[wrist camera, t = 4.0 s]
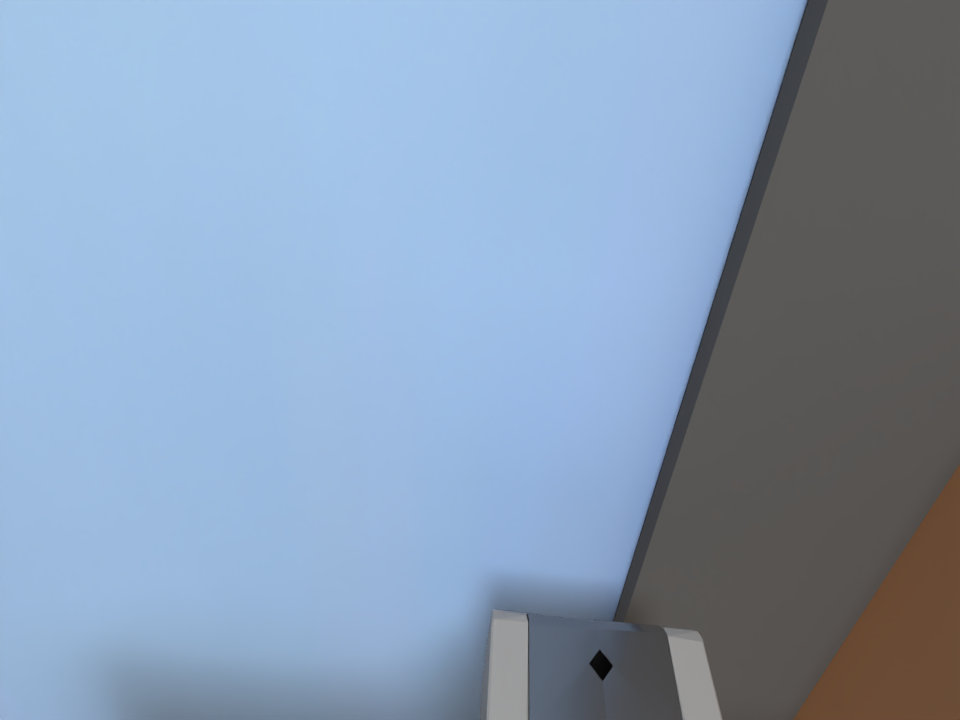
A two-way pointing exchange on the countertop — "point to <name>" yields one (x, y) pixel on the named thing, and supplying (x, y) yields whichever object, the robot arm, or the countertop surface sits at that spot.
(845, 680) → the t block
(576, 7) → the countertop surface
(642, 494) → the countertop surface
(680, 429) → the t mat
